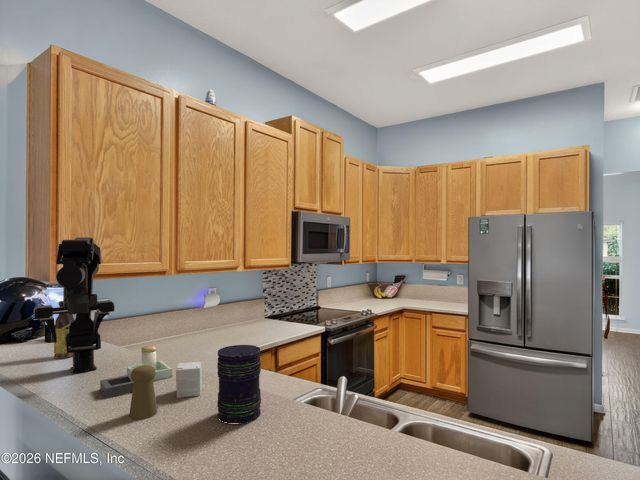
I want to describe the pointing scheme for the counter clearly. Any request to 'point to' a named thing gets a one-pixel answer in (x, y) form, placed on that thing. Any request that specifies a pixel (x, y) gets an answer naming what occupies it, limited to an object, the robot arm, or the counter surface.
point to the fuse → (149, 356)
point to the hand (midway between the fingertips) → (75, 340)
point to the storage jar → (239, 383)
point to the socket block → (116, 386)
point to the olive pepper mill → (143, 393)
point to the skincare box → (188, 379)
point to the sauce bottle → (62, 334)
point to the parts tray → (161, 372)
